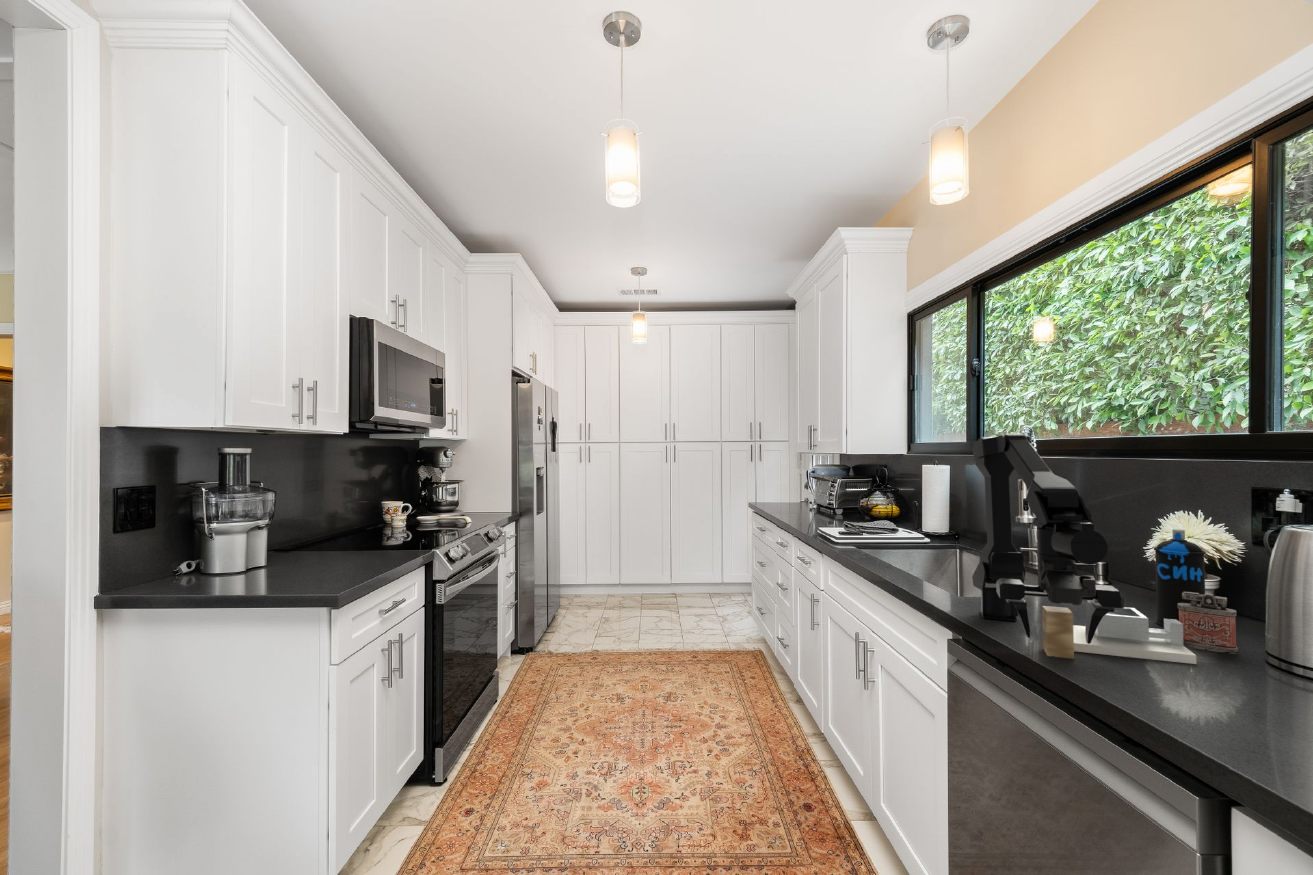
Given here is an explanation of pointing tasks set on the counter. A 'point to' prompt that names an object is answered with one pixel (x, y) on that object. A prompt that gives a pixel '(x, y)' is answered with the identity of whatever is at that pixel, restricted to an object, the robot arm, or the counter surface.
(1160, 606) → the aerosol can
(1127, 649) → the bracket board
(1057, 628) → the oak rail post
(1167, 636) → the bracket
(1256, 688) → the counter surface
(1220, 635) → the lighter
